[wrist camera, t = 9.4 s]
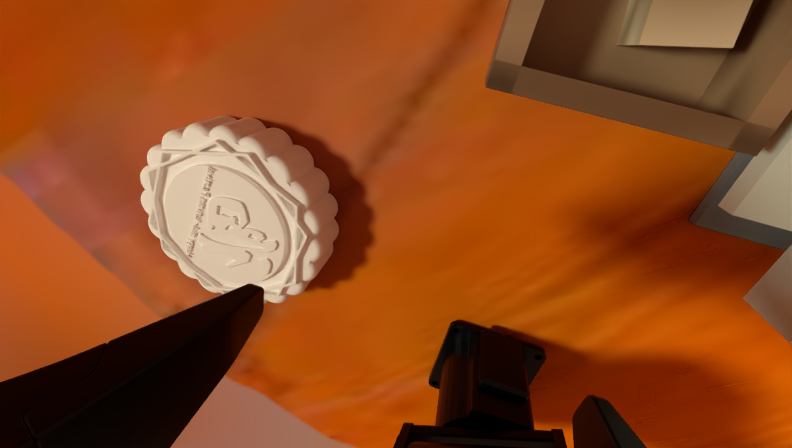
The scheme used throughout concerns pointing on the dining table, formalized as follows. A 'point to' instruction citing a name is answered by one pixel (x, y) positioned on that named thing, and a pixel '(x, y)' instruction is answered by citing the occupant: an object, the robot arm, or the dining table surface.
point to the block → (683, 23)
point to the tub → (650, 71)
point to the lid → (769, 222)
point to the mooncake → (240, 206)
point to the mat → (729, 224)
